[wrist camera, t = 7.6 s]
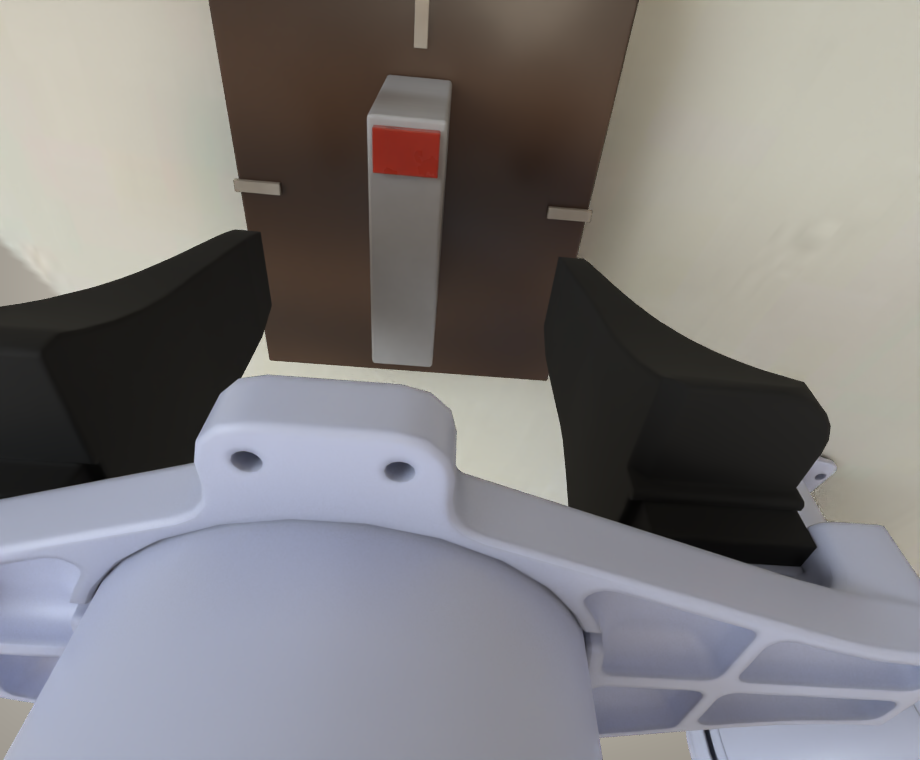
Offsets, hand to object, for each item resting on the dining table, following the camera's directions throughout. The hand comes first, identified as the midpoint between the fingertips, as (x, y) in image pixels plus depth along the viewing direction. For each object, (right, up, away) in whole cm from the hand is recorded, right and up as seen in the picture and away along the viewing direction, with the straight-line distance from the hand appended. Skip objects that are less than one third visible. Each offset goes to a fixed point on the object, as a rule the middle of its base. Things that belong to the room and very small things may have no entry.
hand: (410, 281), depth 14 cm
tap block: (0, +5, +6) cm, 8 cm away
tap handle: (0, +3, +4) cm, 5 cm away
